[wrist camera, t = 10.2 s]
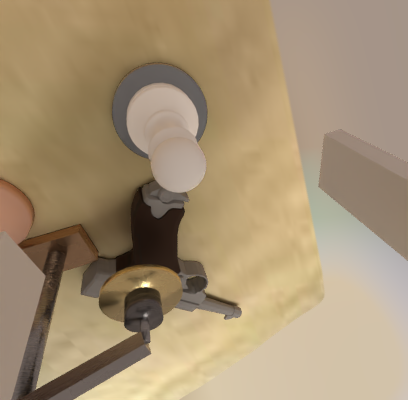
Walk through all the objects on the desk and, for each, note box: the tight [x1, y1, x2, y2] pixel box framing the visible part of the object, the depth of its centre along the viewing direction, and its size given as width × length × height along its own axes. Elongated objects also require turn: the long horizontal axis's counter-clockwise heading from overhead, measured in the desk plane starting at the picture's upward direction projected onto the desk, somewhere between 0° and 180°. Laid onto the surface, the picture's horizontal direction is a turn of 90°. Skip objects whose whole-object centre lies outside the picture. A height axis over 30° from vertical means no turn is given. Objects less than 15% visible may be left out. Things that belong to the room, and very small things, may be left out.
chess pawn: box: [126, 83, 206, 193], centre depth 16 cm, size 5×5×9 cm
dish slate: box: [112, 63, 207, 159], centre depth 20 cm, size 7×7×1 cm
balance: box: [11, 224, 183, 400], centre depth 19 cm, size 22×6×16 cm, turn 100°
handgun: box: [81, 180, 242, 320], centre depth 31 cm, size 3×24×15 cm
